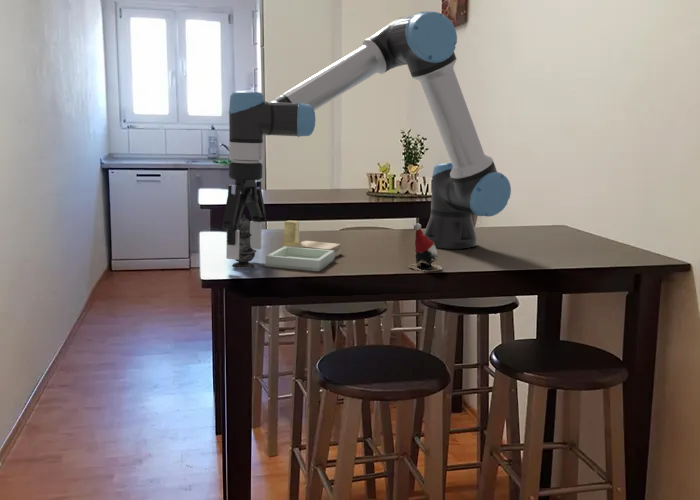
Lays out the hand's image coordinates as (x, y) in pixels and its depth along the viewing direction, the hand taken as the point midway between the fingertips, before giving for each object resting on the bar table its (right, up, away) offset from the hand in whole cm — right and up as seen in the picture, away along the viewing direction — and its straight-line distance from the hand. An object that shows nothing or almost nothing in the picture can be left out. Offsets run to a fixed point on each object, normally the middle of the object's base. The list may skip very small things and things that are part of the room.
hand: (244, 253), depth 164 cm
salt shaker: (0, -3, +1) cm, 3 cm away
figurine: (+42, -4, +6) cm, 43 cm away
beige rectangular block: (+16, -1, +17) cm, 23 cm away
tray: (+13, -2, +6) cm, 14 cm away
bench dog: (+9, 0, +19) cm, 21 cm away
